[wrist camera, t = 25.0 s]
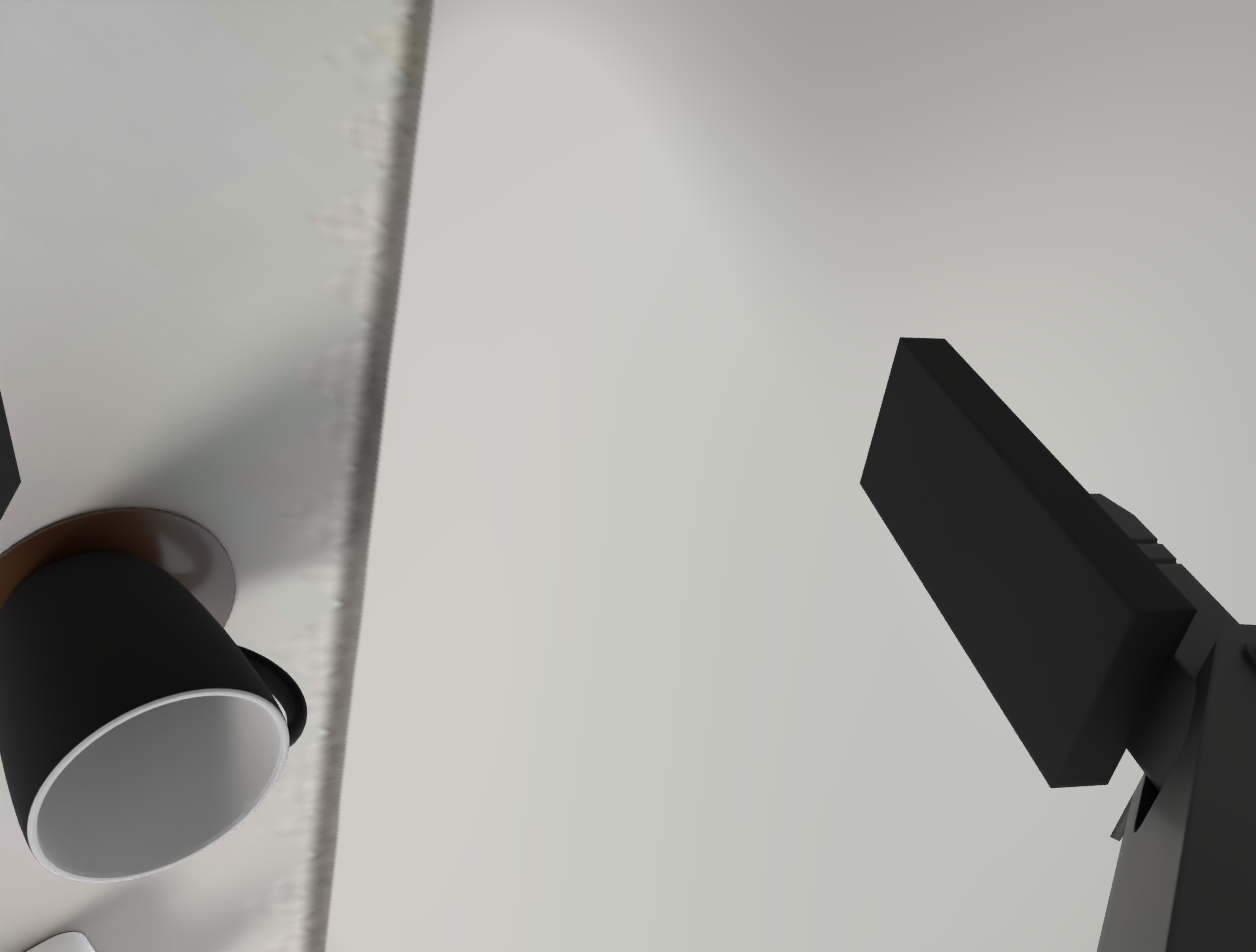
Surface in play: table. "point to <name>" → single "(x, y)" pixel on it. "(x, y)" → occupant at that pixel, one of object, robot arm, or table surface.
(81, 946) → the u-slot mount
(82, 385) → the table surface
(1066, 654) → the robot arm
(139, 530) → the coaster
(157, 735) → the mug
